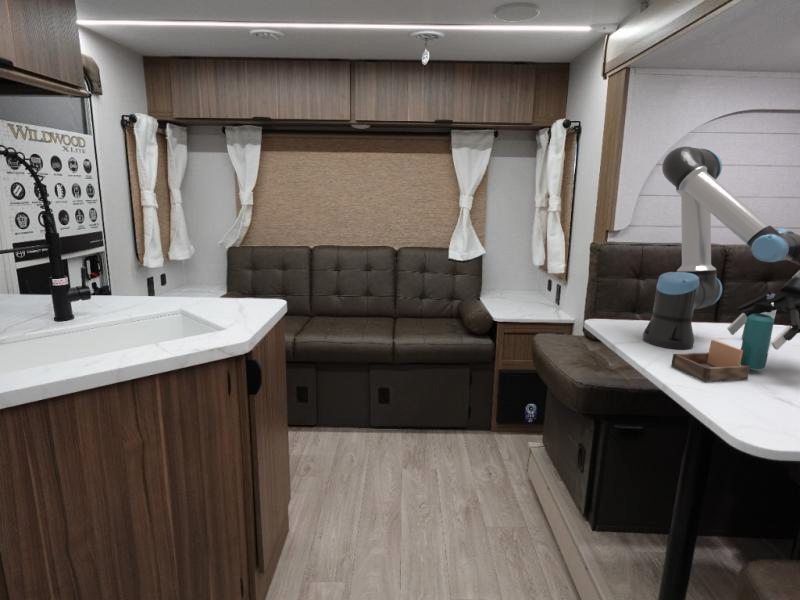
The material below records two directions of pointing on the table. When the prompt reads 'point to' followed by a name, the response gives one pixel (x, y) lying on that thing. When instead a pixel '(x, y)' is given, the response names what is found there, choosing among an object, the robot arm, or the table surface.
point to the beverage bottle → (757, 337)
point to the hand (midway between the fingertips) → (750, 338)
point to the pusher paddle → (723, 355)
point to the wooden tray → (707, 368)
